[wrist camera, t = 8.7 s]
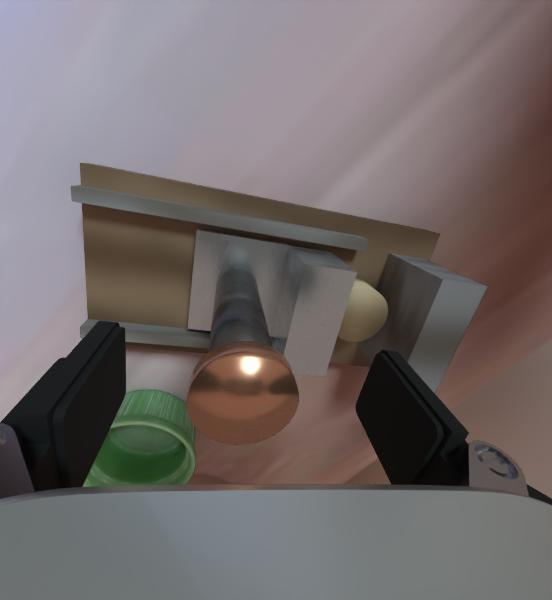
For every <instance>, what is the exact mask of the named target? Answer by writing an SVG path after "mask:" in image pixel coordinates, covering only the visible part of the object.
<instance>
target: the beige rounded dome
mask: <svg viewBox="0 0 552 600" xmlns="http://www.w3.org/2000/svg"><path fill="white" fill-rule="evenodd" d="M387 315H388V305H387V302H386V300H385V298H384V297H383V296H382V295H381V294H380V293H379V292H377V291H376V290H375V289H374V288H372V287H371V286H370V285H369V284H367V283H366V282H365V281H364V280H362V279H361V278H360V277H358V276H357V275H356V278H355V281H354V285H353V288H352V291H351V294H350V297H349V301H348V304H347V307H346V310H345V314H344V317H343V320H342V323H341V326H340V330H339V333H338V337H339V338H341V339H343V340H345V341H349V342H360V341H364V340H366V339H369V338H371V337H372V336H374V335H375V334H376V333H377V332H378V331H379V330H380V329H381V328H382V327H383V325H384V323H385V321H386V319H387Z"/></svg>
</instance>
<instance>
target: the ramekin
mask: <svg viewBox="0 0 552 600" xmlns="http://www.w3.org/2000/svg"><path fill="white" fill-rule="evenodd" d="M194 437H195V426H194V425H193V424H192V422H191V420H190V418H189V416H188V412H187V405H186V404H185V403H184V402H183V401H182V400H180V399H179V398H177V397H175V396H173V395H171V394H169V393H166V392H162V391H157V390H138V391H133V392H129V393H126V394H125V397H124V400H123V402H122V405H121V407H120V409H119V411H118V413H117V415H116V417H115V419H114V421H113V423H112V426H111V428H110V430H109V432H108V434H107V436H106V438H105V440H104V442H103V444H102V447H101V449H100V451H99V453H98V455H97V457H96V459H95V461H94V463H93V466H92V468H91V470H90V472H89V474H88V476H87V478H86V480H85V482H84V484H83V486H84V487H90V486H121V485H185V484H186V483H187V482H188V481H189V479H190V478H191V476H192V474H193V472H194V470H195V465H196V454H195V449H194Z"/></svg>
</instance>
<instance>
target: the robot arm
mask: <svg viewBox="0 0 552 600" xmlns="http://www.w3.org/2000/svg"><path fill="white" fill-rule="evenodd" d="M125 393H126V346H125V328H124V327H120V325H119V323H118V322H110V321H98V322H97V323H96V324H95V325H94V327H93V328H92V329H91V330H90V331H89V332H88V333H87V334H86V336H85V337H84V338H83V339H82V340H81V341H80V342H79V344H78V345H77V346H76V347H75V348H74V349H73V350H72V352H71V353H70V354H69V355H68V356H67V357H66V358H60V359H59V360H57V361H56V362H55V363H54V364H53V365H52V367H51V368H50V369H49V370H48V371H47V372H46V373H45V374H44V375H43V376H42V377H41V379H40V380H39V381H38V382H37V383H36V384H35V385H34V386H33V387H32V388H31V389H30V391H29V392H28V393H27V394H26V395H25V396H24V397H23V398H22V399H21V400H20V402H19V403H18V404H17V405H16V406H15V407H14V408H13V409H12V410H11V411H10V412H9V414H8V415H7V416H6V417H5V418H4V419H3V420H2V421H1V422H0V600H552V499H551V498H549V497H548V496H546V495H544V494H543V493H541V492H539V491H537V490H536V489H534V488H532V487H530V486H529V485H527V484H526V481H525V476H524V474H523V472H522V469H521V468H520V467H519V465H518V464H517V463H516V462H515V461H514V460H513V459H512V458H511V457H510V456H509V455H508V454H506V453H505V452H504V451H502V450H501V449H499V448H497V447H496V446H494V445H492V444H490V443H487V442H484V441H480V440H475V441H472V442H470V443H469V444H468V443H467V442H466V441H465V439H466V437H467V435H468V434H469V433H468V431H467V430H466V429H465V428H464V427H463V425H462V424H461V423H460V422H459V421H458V420H457V419H456V417H455V416H454V415H453V414H452V413H451V412H450V411H449V409H448V408H447V407H446V406H445V405H444V404H443V403H442V401H441V400H440V399H439V398H438V397H437V396H436V395H435V393H434V392H433V391H432V390H431V389H430V388H429V387H428V385H427V384H426V383H425V382H424V381H423V380H422V379H421V377H420V376H419V375H418V374H417V373H416V372H415V371H414V369H413V368H412V367H411V366H410V365H409V364H408V363H407V361H406V360H405V359H404V358H403V357H402V356H401V355H400V353H399V352H397V351H392V350H381V351H380V352H379V353H377V354H376V355H375V357H374V360H373V362H372V365H371V367H370V370H369V372H368V375H367V377H366V380H365V382H364V385H363V387H362V390H361V392H360V395H359V397H358V400H357V402H356V413H357V415H358V417H359V419H360V421H361V423H362V425H363V427H364V429H365V431H366V433H367V436H368V438H369V440H370V442H371V444H372V446H373V448H374V450H375V452H376V454H377V456H378V458H379V460H380V462H381V464H382V466H383V468H384V470H385V472H386V474H387V476H388V478H389V480H390V482H391V484H392V485H369V484H366V485H365V484H362V485H361V484H358V485H357V484H205V485H202V484H198V485H197V484H195V485H193V484H192V485H191V484H187V485H121V486H90V487H83V484H84V482H85V480H86V478H87V476H88V474H89V472H90V470H91V468H92V466H93V463H94V461H95V459H96V457H97V455H98V453H99V451H100V449H101V447H102V444H103V442H104V440H105V438H106V436H107V434H108V432H109V430H110V428H111V426H112V423H113V421H114V419H115V417H116V415H117V413H118V411H119V409H120V407H121V405H122V402H123V400H124V397H125Z"/></svg>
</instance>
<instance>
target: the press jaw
mask: <svg viewBox="0 0 552 600" xmlns="http://www.w3.org/2000/svg"><path fill="white" fill-rule="evenodd" d="M356 275H357V272H356V271H355V270H354V269H352V268H351V267H350V266H349V265H347V264H346V263H345V262H343V261H342V260H341V259H339V258H338V257H337V256H336V255H334V254H333V253H332V252H326V251H320V250H314V249H308V248H302V247H296V246H290V245H289V244H288V243H282V242H276V241H270V240H264V239H258V238H252V237H246V236H240V235H234V234H228V233H222V232H216V231H210V230H204V229H198V228H197V231H196V242H195V253H194V264H193V275H192V286H191V296H190V307H189V318H188V329H196V330H206V331H211V334H210V342H209V351H208V354H206V355H205V356H204V357H203V358H202V359H201V360H200V361H199V363H198V364H197V365H196V367H195V369H194V371H193V374H192V376H191V382H190V387H189V392H188V398H187V412H188V416H189V418H190V420H191V422H192V424H193V425H194V426H195V428H196V429H197V430H198V431H199V432H200V433H202V434H203V435H205V436H206V437H208V438H210V439H212V440H215V441H217V442H221V443H225V444H234V445H241V444H251V443H255V442H259V441H262V440H264V439H267V438H269V437H271V436H273V435H275V434H276V433H278V432H279V431H281V430H282V429H283V428H284V427H285V426H286V425H287V424H288V423H289V422H290V420H291V419H292V418H293V416H294V414H295V412H296V409H297V407H298V402H299V393H298V388H297V385H296V381H295V378H294V375H293V374H297V375H312V376H325V375H326V371H327V368H328V365H329V362H330V359H331V355H332V352H333V349H334V346H335V342H336V339H337V336H338V333H339V330H340V326H341V323H342V320H343V317H344V314H345V310H346V307H347V304H348V301H349V297H350V294H351V291H352V288H353V285H354V281H355V278H356ZM270 338H271V339H270ZM271 342H272V343H271ZM272 346H273V347H272Z"/></svg>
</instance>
